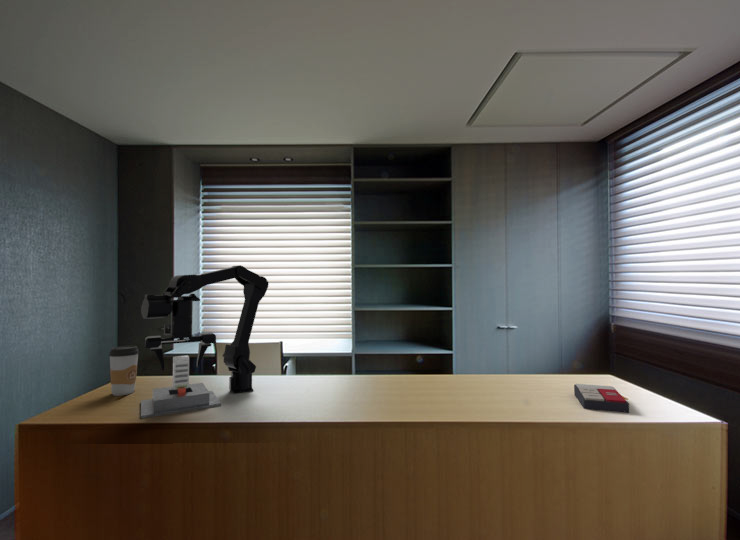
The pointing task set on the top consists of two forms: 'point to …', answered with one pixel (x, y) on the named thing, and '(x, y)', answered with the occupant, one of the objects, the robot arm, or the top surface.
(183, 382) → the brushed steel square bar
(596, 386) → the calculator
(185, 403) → the stand base
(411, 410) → the top surface
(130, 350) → the coffee cup
